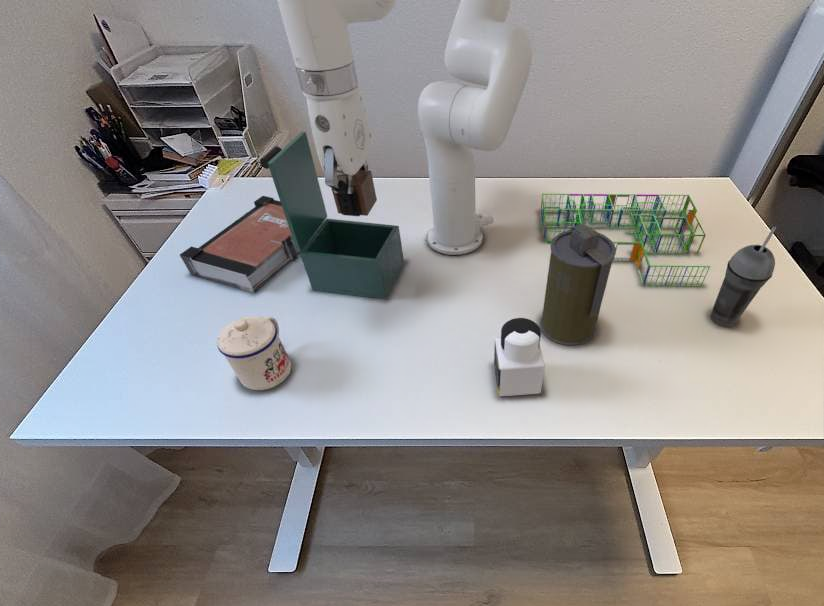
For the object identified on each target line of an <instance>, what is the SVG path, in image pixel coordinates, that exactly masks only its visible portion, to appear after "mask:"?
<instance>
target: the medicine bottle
mask: <svg viewBox="0 0 824 606" xmlns="http://www.w3.org/2000/svg"><path fill="white" fill-rule="evenodd" d="M541 335H542V330H541V327H540V325H538V324H537V323H536V322H535V321H534V320H532V319H529V318H526V317H515V318H512V319H509V320H507V321H506V322H505V323H504V324H502V327H501V329H500V336H497V337H495V338H494V355H493V357H494V358H493V363H494V364H493V367H494V374H495V381H496V389H497V395H498V396H499V397H511V396H526V395H527V396H528V395H538V394H539V395H540V394H541V393H542V386H543V381H544V374H545V369H546V364H545V360H544V355H543V351H542V347H541V337H542V336H541Z"/></svg>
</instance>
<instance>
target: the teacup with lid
mask: <svg viewBox="0 0 824 606" xmlns="http://www.w3.org/2000/svg"><path fill="white" fill-rule="evenodd" d="M216 344H217V345H216V346H217V349H218V351H219V352H220V354H222V355H223V356H224V357H225V359H226V361H227V362H228V364H229V366H230V367H231V369H232V370H233V371H234V374H235V376H237V378H238V380H239V382H240V383H241V384H242V386H243V387H245V388H247V389H249V390H253V391H264V390H269V389H272V388H275V387H276V386H278V385H280V384H281V383H282V382H284V381H285V380H286V379H287V378H288V376H289V375H290V373H291V370H292V362H291V360H290V358H289V355H288V353H287V351H286V349H285V347H284V345H283V342H282V341H281V338H280V327H279V323H278V321H277V319H276V318H275V317H273V316H266V317H263V316H258V315H249V316H244V317H240V318H238V319H235V320H233V321H231V322H229V323H228V324H227V325H225V326H224V327H223V328H222V329H221V331H220V332H219V334H218V335H217V338H216Z"/></svg>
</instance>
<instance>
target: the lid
mask: <svg viewBox="0 0 824 606" xmlns="http://www.w3.org/2000/svg"><path fill="white" fill-rule="evenodd" d="M308 139H309V138H308V135H307V131H300V132H299V133H298V134H297V135H296V136H295V137H294V138H293V139H292V140H290V142H289V143H287V144H286V145H285V146H284V147H283V148H281V147H280V146H278V145H276V146H273V147H272V148H271V149H270V150H269V151H268V152H266V154H264V155H263V156H262V157H261V158H260V159H259V164H260V166H261V167H262V168H263V169H265V170H268V169H269V172H270V175H271V178H272V182H273V184H274V187H275V190H276V192H277V195H278V199H279V201H280V202H281V205H282V208H283V211H284V214H285V217H286V220H287V223H288V226H289V229H290V232H291V235H292V238H293V241H294V244H295V247H296V250H297V251H301V250H302V249H303V248H304V246H305V245H306V244H307V242H308V241H309V240H310V239H311V237H312V236H313V235H314V233H315V232H316V231H317V229H318V228H319V227H320V226H321V224H322V223H323V222H324V221H325V220H326V219H328V213H327V209H326V205H325V202H324V198H323V193H322V190H321V186H320V181H319V178H318V175H317V170H316V167H315V163H314V159H313V154H312V151H311V147H310V143H309V140H308Z"/></svg>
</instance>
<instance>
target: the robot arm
mask: <svg viewBox="0 0 824 606" xmlns="http://www.w3.org/2000/svg"><path fill="white" fill-rule="evenodd" d="M276 1H277V5H278V9H279V12H280V16H281V20H282V23H283V27H284V30H285V34H286V38H287V43H288V45H289V48H290V52H291V55H292V59H293V63H294V66H295V71H296V74H297V79H298V81H299V84H300V89H301V92H302V95H303V96H304V97H305V98H306V106H307V111H308V117H309V118H308V119H309V122H310V123H309V124H310V128H311V132H312V137H313V138H312V139H313V141H314V146H315V150H316V154H317V157H318V160H319V163H320V166H321V169H322V170H323V172H324V184H325V186H327V187H328V188H330V189H331V188H332V189H333V191H334V193H336V195H337V199H338V203H339V207H340V210H341V214H340V215H342V216H347V217H348V216H349V217H360V216H362V215H361V209H360V205H359V201H358V196H357V192H356V191H353V181H352V175H355V174H356V173H357V172H358V171H359V170H368V171H369V163H368V162H367V160H368V158H369V157H370V155H371V154H372V153H373V150H374V144H373V139H372V134H371V130H370V129H371V128H370V125H369V120H368V116H367V112H366V107H365V104H364V101H363V97H362V94H361V90H360V88H359V87H360V86H359V81H358V77H357V71H356V65H355V61H354V57H353V51H352V45H351V40H350V34H349V30H348V26H349V25H350V24H354V23H355V24H357V23H368V22H369V23H370V22H377V21H380V20H382V19H384V18H386V17H387V16H388V15H389V14H390V13H391V12H392V10H393V9H394V8H395V6H396V4H397V1H398V0H276ZM459 1H460V2H459V5H458V8H457V11H456V14H455V17H454V20H453V23H452V26H451V29H450V32H449V35H448V39H447V42H446V46H445V49H444V50H445V51H444V66H445V68H446V70H447V72H448V73H449V74H450V75H451V76H452V77H454V78H455V79H457V80H460V81H463V82H466V83H470V84H475V85H478V86H479V85H480V86H483V87H484V86H485V87H486V89H485V88H479V87H475V86H471V85H467V84H462V83H460V82H459V83H458V82H454V81H447V80H437V81H433V82H430V83H429V84H427V85H426V86H425V87H424V88H423V89H422V91H421V93H420V95H419V98H418V101H417V117H418V118H417V119H418V122H419V126H420V127H419V128H420V130H421V135H422V137H423V140H424V144H425V150H426V158H427V166H428V178H429V189H430V190H429V191H430V201H431V214H432V223H433V225H432V226H433V227H432V229H430V230H429V232H428V235H427V243H428V245H429V246H430V248H431V249H433V250H434V251H436V252H438V253H440V254H444V255H448V256H458V255H459V256H460V255H466V254H469V253H471V252H473V251H475V250H477V249H478V248H479V247H480V246H481V245H482V243H483V239H484V236H483V232H482V230H481V229H483V228H484V227H485V226H489V225H491V224H493V223H494V222H495V219H494V216H493V215H492V214H488V215H486V216H484V215H483V214H482V213H481V212H479V213H476V211H477V209H476V208H477V207H476V204H477V203H476V161H475V156H474V152H473V150H478V151H481V152H487V153H488V152H494V151H496V150H498V149H499V148H500V147H501V146H502V144H503V143H504V141H505V139H506V138H507V136H508V132H509V130H510V127H511V125H512V122H513V120H514V118H515V115H516V112H517V109H518V106H519V103H520V100H521V97H522V95H523V93H524V89H525V87H526V84H527V81H528V78H529V75H530V70H531V65H532V60H533V44H532V41H531V37H530V35H529V33H528V32H527V30H526V29H524V28H523V27H521V26H520V25H517V24H514V23H509V22H506V20H507V16H508V14H509V11H510V6H511V3H512V0H459ZM338 167H339V168H340V169H338ZM341 169H342V170H341ZM338 176H345V177H346V183H345V182H344V181H342V180H339V179H338ZM332 189H331V190H332Z"/></svg>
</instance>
